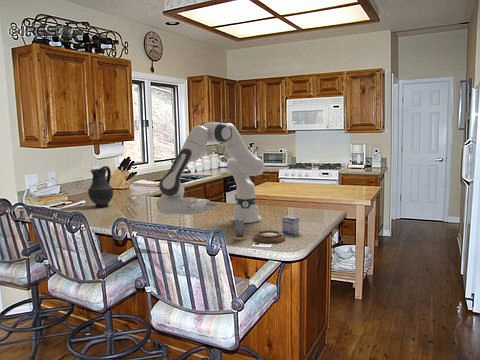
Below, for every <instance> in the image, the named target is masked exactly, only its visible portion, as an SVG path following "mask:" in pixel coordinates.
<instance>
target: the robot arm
mask: <svg viewBox="0 0 480 360" xmlns="http://www.w3.org/2000/svg"><path fill="white" fill-rule="evenodd" d="M190 130H191V131H189V133H188V135H187V136H186V138H185V141H184V143H183V144H182V145H183V146H182V147H181V149H180V151H179V153H178V155H177V157H175V160H174V161H173V163H172V165H171V167H170V169H169V170H168V172H167V173H166V174H165V175H164V176H163V177H162V178H161V179H160V181H159V183H158V186H159V191H160V192H161V193H162V194H161V196H160V197H159V198H158V199H157V200H156V201H157V202H156V205H157V210H158V211H159V213H161V214H162V215H169V216H171V215H172V216H174V215H182V216H184V215H185V216H187V215H188V216H189V215H190V216H192V215H193V214H204V213H205V212H207V211H214V210H215V208H216V207H217V206H218V202H213V201H210V199H205V198H196V197H184V194H185V186H184V184H183V183H181V181H180V180H181V177H182V175H183V173H184V171H185V169H186V167H187V166H188V164H190V163H191V162H197V161H199V159H200V158H201V157H202V155H203V153H204V152H205V149H206V147H207V144H208V143H209V142H210V143H222V144H223V145H224V148H225V150H226V152H227V153H228V155H229V156H230V159H228V161H227V171H228V172H229V173H230V174H231V175H232V177H233V179H234V182H235V185H236V200H235V203H236V204H235V206H234V207H233V217H232V218H230V220H231V221H233V222H235V219H244V224H245V223H249V224H250V223H256V222H262V221H263V220H262V217H261V216H260V213H259V207H258V205H257V197H256V186H255V183H254V182H252V180H251V179H250V177H251V176H252V177H254V176H255V177H256V176H260V175H262V174H263V173H264V171H265V167H266V166H265V162H264V160H263V159H262V158H259V157H258V156H256V155H255V154H254V153H253V152H252V151H251V150H250V149H249V148H248V147H247V145H246V144H245V142H244V140H243V138H242V136H241V133H239V131H238V129H237V128H236V127H235V125H234V124H233V123H230V122H226V123H225V122H219V121H218V122H217V121H210V122H208V121H206V122H202V123H201V124H199V125H198V124H197V125H196V126H194V127H193V128H192V129H190Z"/></svg>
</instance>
